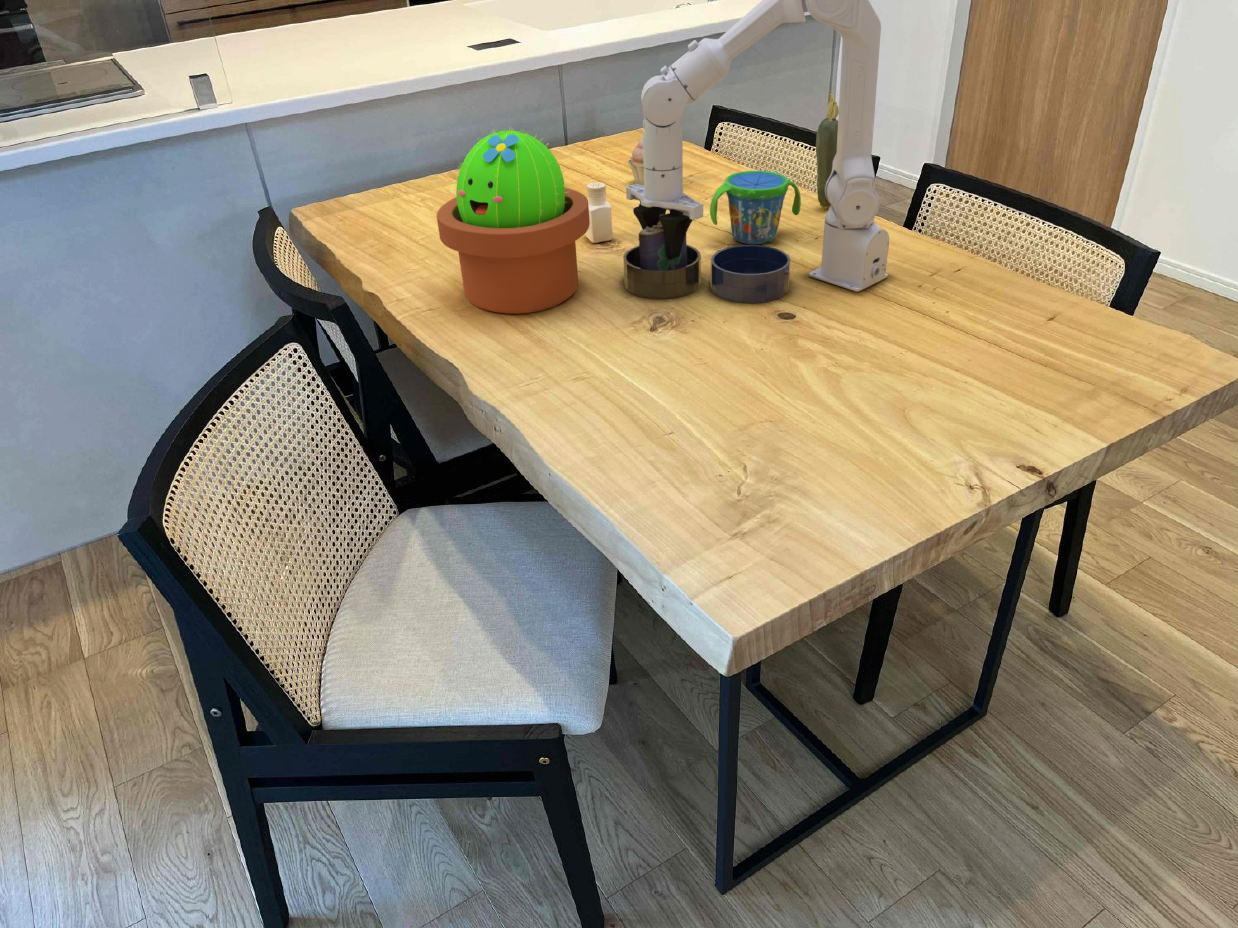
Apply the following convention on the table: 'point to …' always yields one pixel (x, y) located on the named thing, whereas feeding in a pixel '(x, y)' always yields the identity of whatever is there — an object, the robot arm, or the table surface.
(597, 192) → the pepper shaker
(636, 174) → the cupcake
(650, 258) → the flask
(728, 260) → the indigo bowl
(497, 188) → the potted cactus
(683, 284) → the charcoal bowl
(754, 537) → the table surface
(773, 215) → the snack cup
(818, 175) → the vegetable
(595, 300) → the table surface
